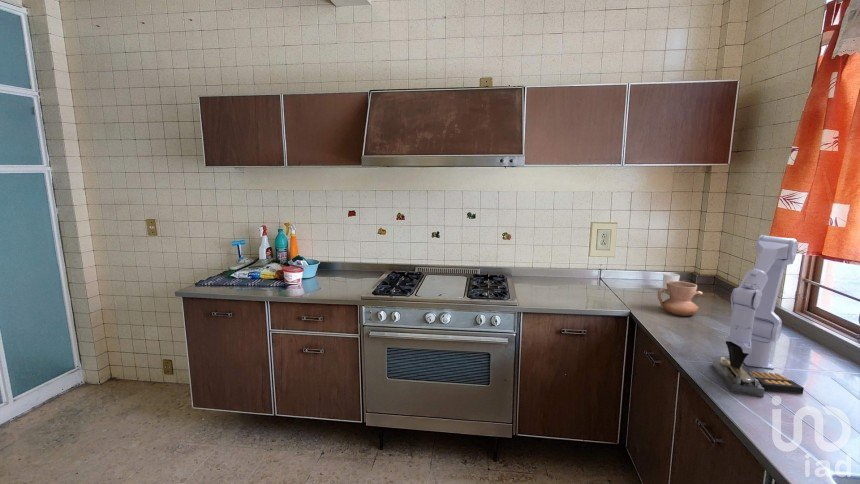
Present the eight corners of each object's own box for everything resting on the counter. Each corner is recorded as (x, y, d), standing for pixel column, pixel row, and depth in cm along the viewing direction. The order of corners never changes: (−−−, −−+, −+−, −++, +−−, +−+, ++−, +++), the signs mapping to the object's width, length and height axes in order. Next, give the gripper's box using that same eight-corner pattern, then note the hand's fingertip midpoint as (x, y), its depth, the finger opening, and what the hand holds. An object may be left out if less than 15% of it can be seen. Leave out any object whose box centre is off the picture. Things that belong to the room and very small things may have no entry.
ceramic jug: (696, 310, 201) (699, 281, 199) (703, 320, 188) (706, 289, 186) (654, 306, 208) (656, 278, 206) (657, 315, 195) (660, 285, 192)
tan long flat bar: (725, 362, 140) (725, 359, 140) (735, 364, 139) (736, 360, 139) (741, 382, 126) (742, 379, 126) (753, 384, 125) (754, 380, 125)
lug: (720, 362, 141) (720, 356, 141) (739, 365, 139) (740, 359, 139) (721, 364, 139) (722, 359, 139) (742, 367, 137) (742, 361, 137)
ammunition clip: (803, 393, 126) (777, 376, 138) (804, 387, 126) (778, 370, 138) (763, 389, 128) (741, 373, 140) (763, 384, 128) (742, 367, 140)
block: (712, 364, 145) (713, 353, 144) (739, 368, 142) (741, 356, 141) (731, 392, 127) (733, 378, 126) (763, 397, 124) (765, 383, 124)
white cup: (658, 290, 235) (660, 273, 233) (669, 289, 237) (671, 272, 236) (669, 294, 228) (672, 276, 226) (681, 293, 230) (683, 275, 228)
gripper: (719, 316, 141) (713, 354, 144) (734, 331, 128) (728, 373, 130) (744, 319, 139) (738, 358, 142) (762, 335, 126) (755, 377, 128)
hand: (735, 365), depth 136 cm, fingers closed on tan long flat bar
